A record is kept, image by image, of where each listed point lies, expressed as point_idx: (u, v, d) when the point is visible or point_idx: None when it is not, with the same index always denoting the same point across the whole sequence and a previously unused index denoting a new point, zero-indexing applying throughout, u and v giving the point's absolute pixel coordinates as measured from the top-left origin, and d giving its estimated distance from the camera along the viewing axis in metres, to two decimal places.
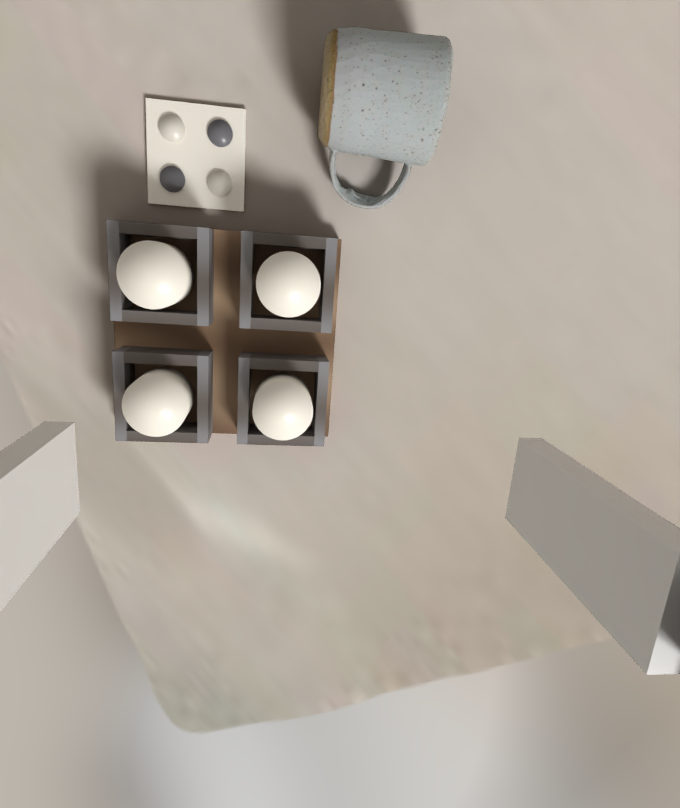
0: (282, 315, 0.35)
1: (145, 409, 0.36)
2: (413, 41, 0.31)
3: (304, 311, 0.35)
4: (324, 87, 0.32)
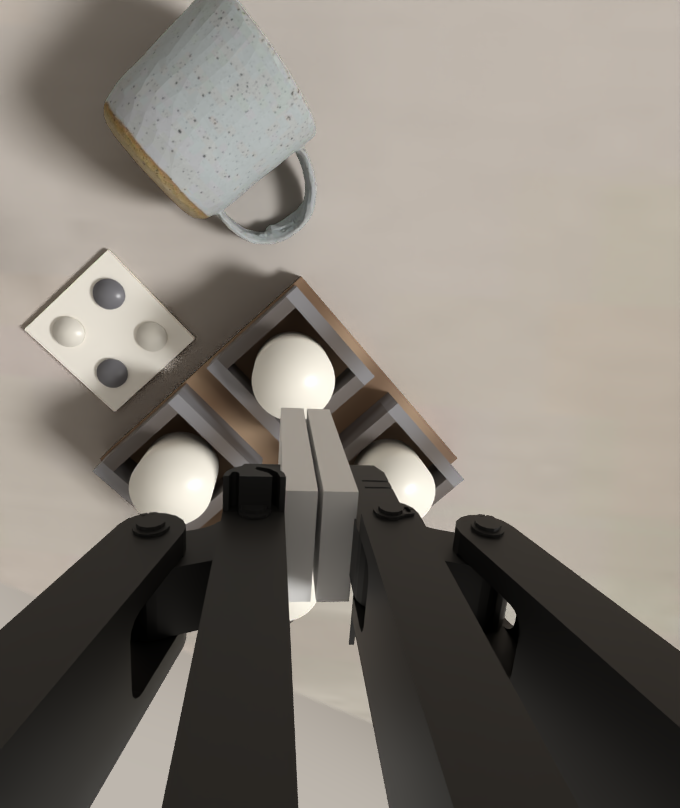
0: None
1: None
2: (183, 29, 0.22)
3: (331, 390, 0.27)
4: (149, 173, 0.24)
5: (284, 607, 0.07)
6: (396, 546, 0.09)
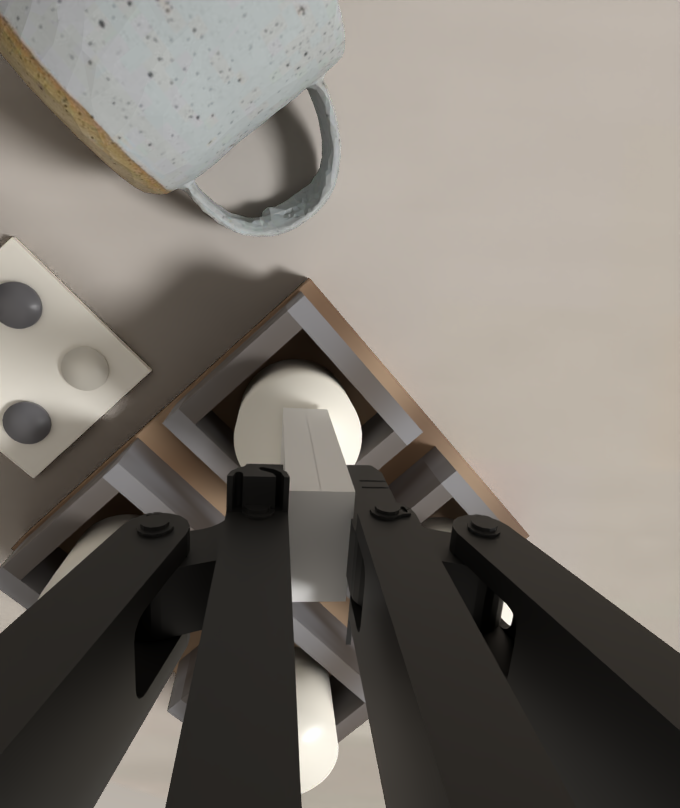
0: None
1: None
2: None
3: (356, 452, 0.18)
4: (52, 107, 0.13)
5: (287, 607, 0.07)
6: (393, 546, 0.09)
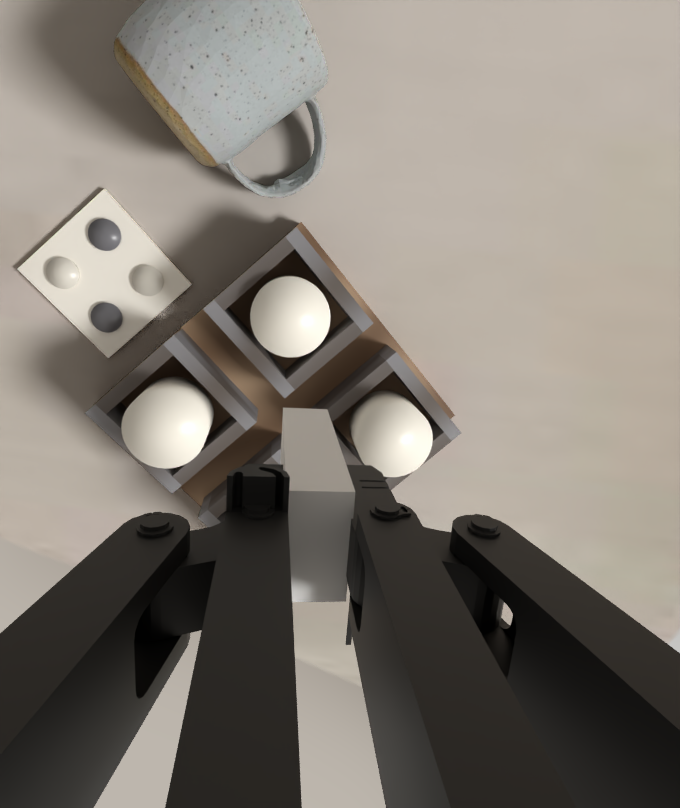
0: (310, 350, 0.29)
1: None
2: None
3: (327, 328, 0.28)
4: (159, 111, 0.23)
5: (287, 607, 0.07)
6: (393, 546, 0.09)
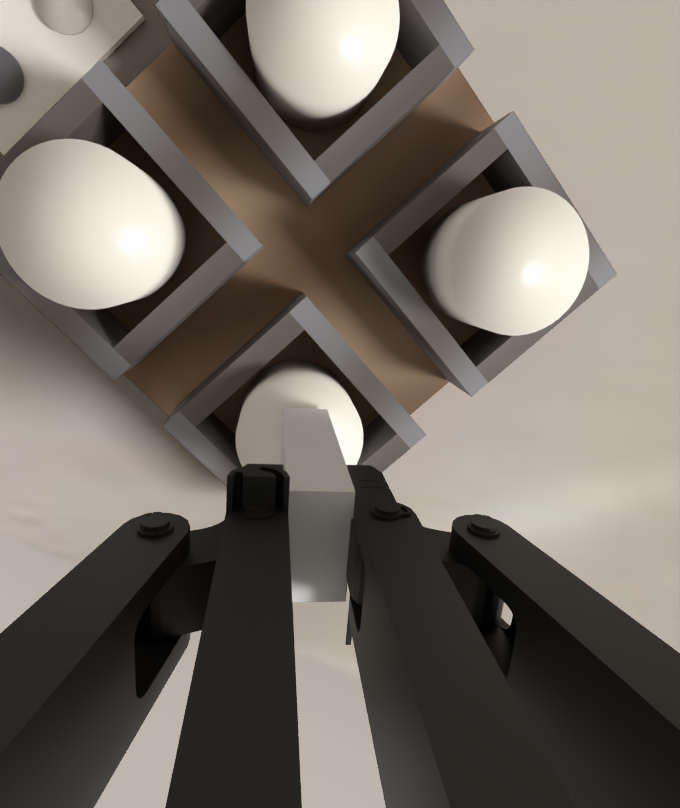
0: (362, 88, 0.15)
1: None
2: None
3: (392, 40, 0.15)
4: None
5: (287, 607, 0.07)
6: (392, 546, 0.09)
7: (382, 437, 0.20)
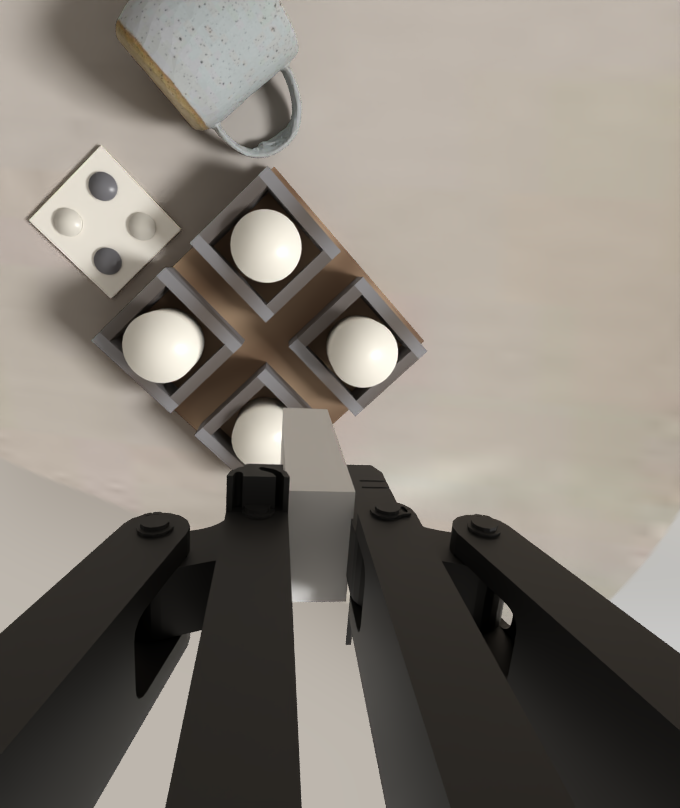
0: (285, 275, 0.32)
1: (259, 447, 0.35)
2: None
3: (298, 254, 0.32)
4: (155, 79, 0.28)
5: (287, 607, 0.07)
6: (393, 546, 0.09)
7: None
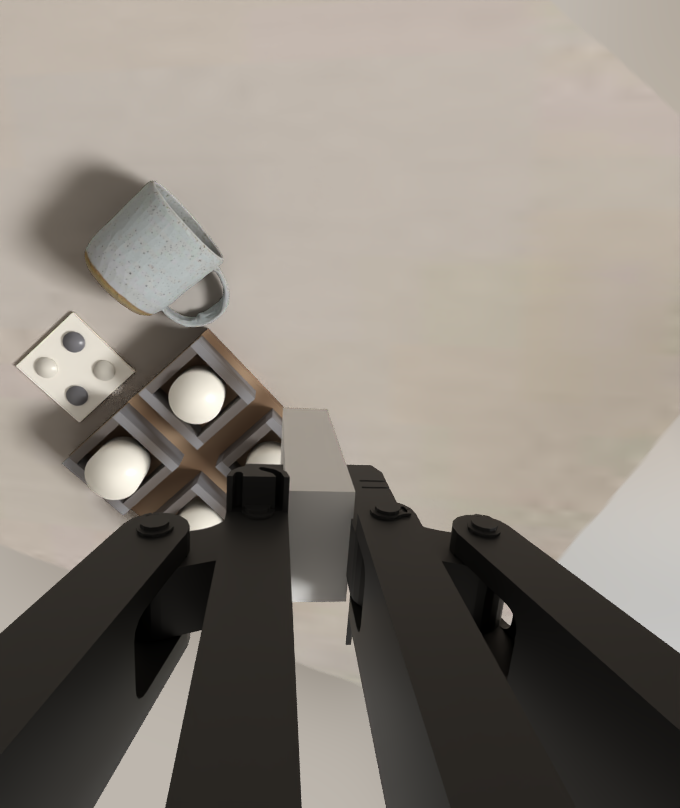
0: (211, 419, 0.43)
1: None
2: (132, 213, 0.36)
3: (220, 404, 0.43)
4: (112, 295, 0.38)
5: (287, 607, 0.07)
6: (393, 546, 0.09)
7: None
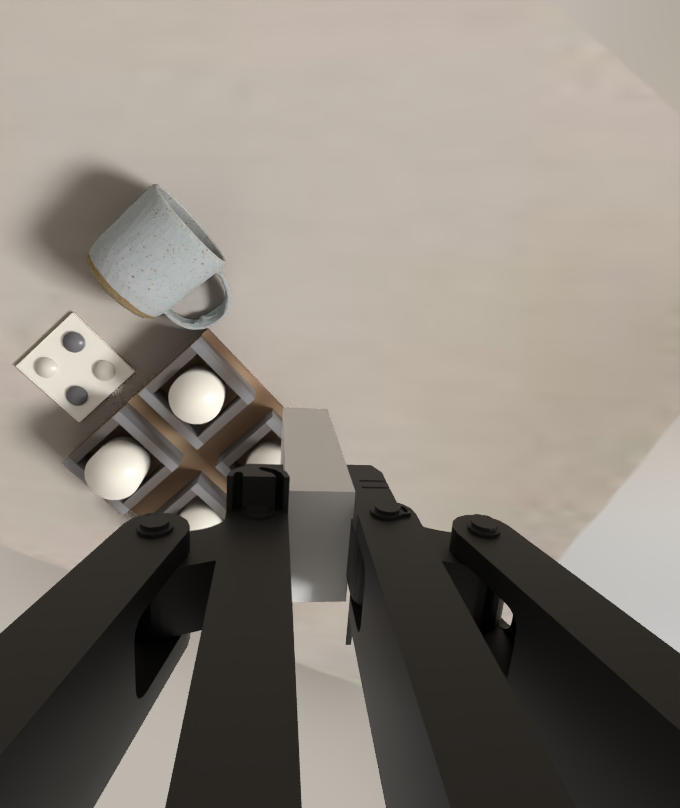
0: (210, 419, 0.43)
1: None
2: (135, 217, 0.37)
3: (220, 404, 0.43)
4: (115, 299, 0.38)
5: (287, 607, 0.07)
6: (393, 546, 0.09)
7: None
